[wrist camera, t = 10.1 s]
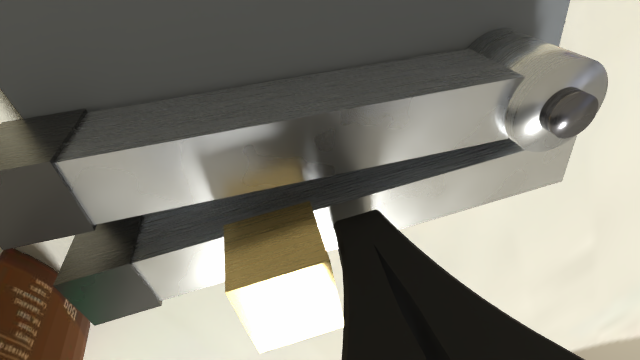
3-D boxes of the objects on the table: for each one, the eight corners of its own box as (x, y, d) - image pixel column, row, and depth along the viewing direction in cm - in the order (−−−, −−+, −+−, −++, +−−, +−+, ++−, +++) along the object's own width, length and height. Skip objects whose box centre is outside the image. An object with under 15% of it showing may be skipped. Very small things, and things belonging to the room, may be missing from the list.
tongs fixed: (522, 99, 13) (580, 134, 11) (512, 146, 14) (563, 185, 12) (81, 220, 11) (52, 285, 9) (113, 260, 13) (94, 325, 11)
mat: (641, -379, 7) (667, -396, 7) (525, 143, 15) (533, 150, 14) (-230, -244, 6) (-262, -255, 5) (137, 254, 13) (134, 265, 13)
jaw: (537, 22, 11) (643, 57, 8) (516, 100, 13) (600, 151, 10) (-3, 109, 9) (-99, 194, 6) (52, 190, 11) (-6, 285, 8)
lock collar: (309, 200, 10) (330, 261, 8) (325, 265, 12) (344, 325, 10) (223, 225, 10) (225, 292, 8) (252, 286, 11) (259, 353, 10)
